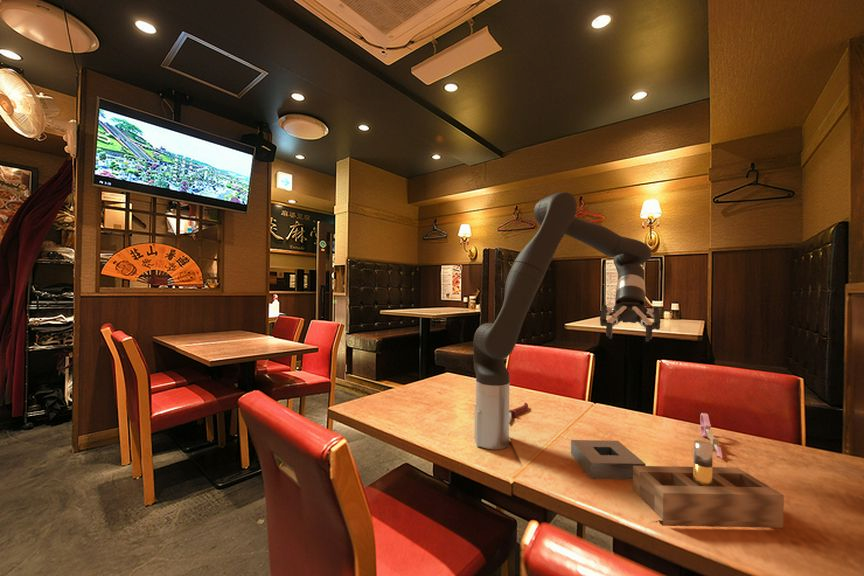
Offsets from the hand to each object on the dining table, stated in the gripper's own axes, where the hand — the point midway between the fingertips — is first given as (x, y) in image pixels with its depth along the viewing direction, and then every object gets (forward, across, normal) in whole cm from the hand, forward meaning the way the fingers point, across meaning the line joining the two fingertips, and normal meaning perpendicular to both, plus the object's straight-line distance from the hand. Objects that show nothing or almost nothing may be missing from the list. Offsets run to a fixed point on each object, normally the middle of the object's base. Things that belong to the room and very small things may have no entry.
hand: (628, 338), depth 93 cm
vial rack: (+35, +14, +9) cm, 38 cm away
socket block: (+30, -4, +14) cm, 33 cm away
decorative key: (+9, +20, +35) cm, 42 cm away
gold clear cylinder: (+34, +14, +8) cm, 37 cm away
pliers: (+13, -38, +32) cm, 51 cm away
